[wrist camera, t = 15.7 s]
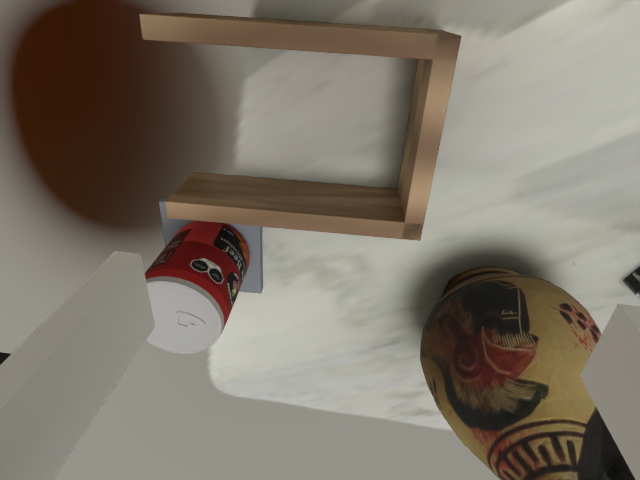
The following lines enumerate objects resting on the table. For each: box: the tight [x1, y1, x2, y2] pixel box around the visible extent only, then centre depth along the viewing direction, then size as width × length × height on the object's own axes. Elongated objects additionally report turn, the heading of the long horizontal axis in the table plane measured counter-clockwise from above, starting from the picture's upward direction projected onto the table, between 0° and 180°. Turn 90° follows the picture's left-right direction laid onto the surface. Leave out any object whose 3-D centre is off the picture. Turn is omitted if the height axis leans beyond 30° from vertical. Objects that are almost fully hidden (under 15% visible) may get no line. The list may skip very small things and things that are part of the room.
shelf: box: [140, 13, 461, 241], centre depth 34 cm, size 15×21×7 cm
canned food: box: [145, 221, 250, 354], centre depth 38 cm, size 8×8×11 cm
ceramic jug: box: [420, 263, 635, 480], centre depth 32 cm, size 17×15×30 cm
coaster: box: [159, 198, 263, 293], centre depth 44 cm, size 10×10×1 cm
